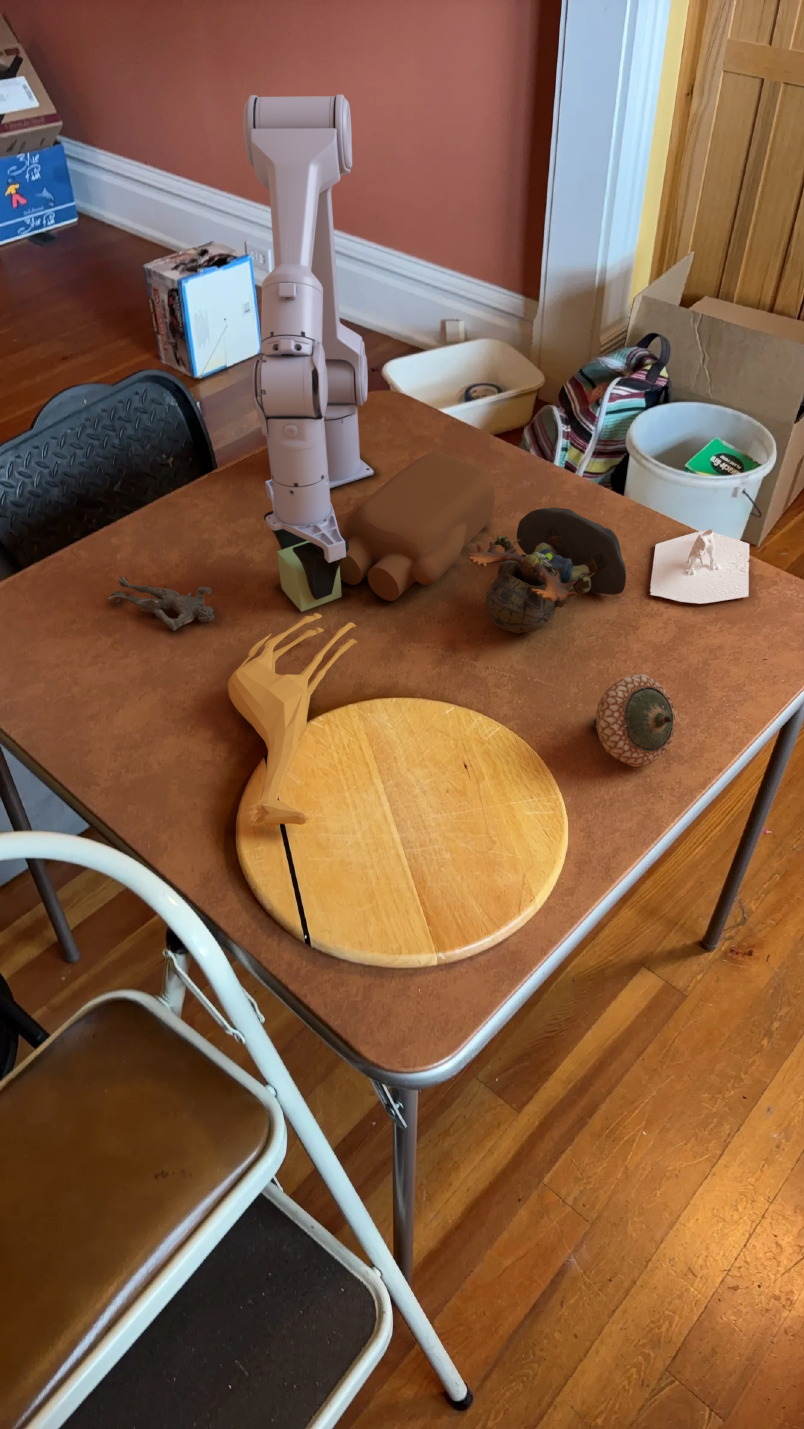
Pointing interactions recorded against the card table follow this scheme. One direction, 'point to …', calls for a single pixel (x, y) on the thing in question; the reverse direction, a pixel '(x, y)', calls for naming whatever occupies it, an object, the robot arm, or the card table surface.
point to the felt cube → (301, 581)
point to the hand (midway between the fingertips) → (310, 582)
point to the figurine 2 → (550, 567)
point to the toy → (416, 524)
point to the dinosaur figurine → (701, 568)
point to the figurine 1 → (169, 603)
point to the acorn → (635, 720)
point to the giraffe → (279, 712)
